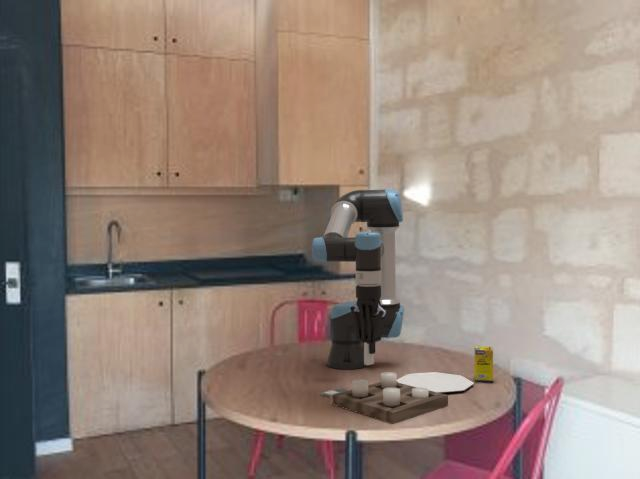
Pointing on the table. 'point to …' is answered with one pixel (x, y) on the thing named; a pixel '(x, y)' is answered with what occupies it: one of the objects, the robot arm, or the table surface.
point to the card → (334, 391)
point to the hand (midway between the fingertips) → (369, 364)
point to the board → (392, 414)
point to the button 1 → (360, 388)
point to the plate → (437, 382)
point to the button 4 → (420, 393)
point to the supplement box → (483, 364)
